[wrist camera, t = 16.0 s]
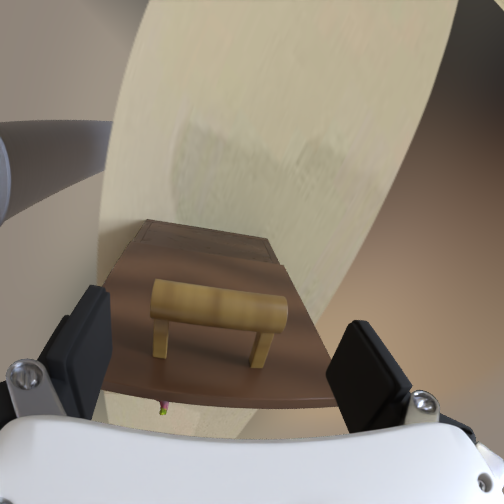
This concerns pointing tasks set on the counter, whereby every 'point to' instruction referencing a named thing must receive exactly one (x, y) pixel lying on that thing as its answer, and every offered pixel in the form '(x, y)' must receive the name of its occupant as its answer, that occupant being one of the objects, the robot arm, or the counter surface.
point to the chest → (206, 241)
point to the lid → (212, 332)
